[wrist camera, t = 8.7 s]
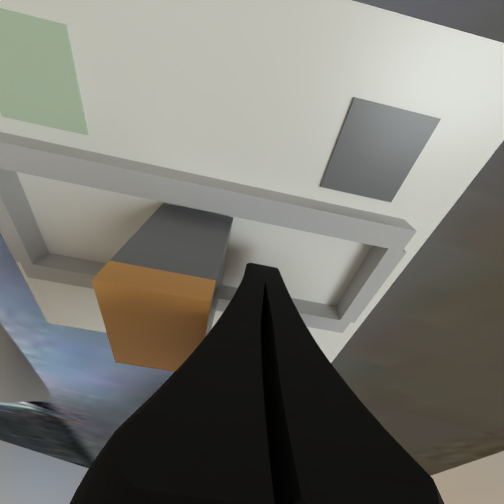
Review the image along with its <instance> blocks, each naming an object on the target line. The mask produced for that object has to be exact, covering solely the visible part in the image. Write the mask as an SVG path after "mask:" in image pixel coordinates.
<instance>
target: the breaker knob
mask: <svg viewBox="0 0 504 504" xmlns="http://www.w3.org/2000/svg"><path fill="white" fill-rule="evenodd" d="M232 223H233V217H229V216H225V215H220V214H215V213H210V212H205V211H200V210H195V209H191V208H186V207H181V206H176V205H171V204H166V203H163V204H162V205H161V206H160V207H159V208H158V209H157V210H156V211H155V212H154V213H153V215H152V216H151V217H150V218H149V219H148V220H147V221H146V222H145V223H144V224H143V225H142V226H141V227H140V228H139V230H138V231H137V232H136V233H135V234H134V235H133V236H132V237H131V238H130V239H129V240H128V241H127V242H126V243H125V244H124V246H123V247H122V248H121V249H120V250H119V251H118V252H117V253H116V254H115V255H114V256H113V257H112V258H111V259H110V261H109V262H108V263H107V264H106V265H105V266H104V267H103V268H102V269H101V270H100V271H99V272H98V273H97V274H96V276H95V277H94V278H93V279H92V280H91V281H92V284H93V288H94V291H95V294H96V298H97V301H98V305H99V308H100V311H101V315H102V318H103V322H104V325H105V328H106V332H107V335H108V339H109V342H110V345H111V349H112V352H113V356H114V359H115V362H117V363H124V364H130V365H136V366H143V367H149V368H155V369H162V370H168V371H176V370H177V369H178V368H179V367H180V366H181V365H182V364H183V363H184V362H185V361H186V359H187V358H188V357H189V356H190V355H191V354H192V353H193V351H194V350H195V349H196V348H197V347H198V345H199V344H200V343H201V342H202V340H203V339H204V338H205V337H206V336H207V334H208V333H209V332H210V330H211V329H212V324H213V320H214V316H215V312H216V308H217V303H218V299H219V295H220V291H221V287H222V282H223V276H224V270H225V264H226V258H227V252H228V246H229V240H230V234H231V228H232Z"/></svg>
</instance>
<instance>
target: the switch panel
mask: <svg viewBox="0 0 504 504" xmlns="http://www.w3.org/2000/svg"><path fill="white" fill-rule="evenodd" d="M503 140H504V43H501V42H498V41H494V40H491V39H487V38H484V37H480V36H477V35H473V34H470V33H466V32H462V31H459V30H455V29H452V28H448V27H445V26H441V25H438V24H434V23H430V22H427V21H423V20H420V19H416V18H413V17H409V16H406V15H402V14H399V13H395V12H391V11H388V10H384V9H381V8H377V7H374V6H370V5H367V4H363V3H359V2H356V1H352V0H0V233H1V235H2V237H3V239H4V240H5V242H6V244H7V246H8V248H9V250H10V252H11V254H12V256H13V258H14V259H15V261H16V263H17V265H18V267H19V269H20V271H21V273H22V275H23V277H24V278H25V280H26V282H27V284H28V286H29V288H30V290H31V292H32V294H33V296H34V298H35V299H36V301H37V303H38V305H39V307H40V309H41V311H42V313H43V315H44V317H45V318H46V320H47V322H48V323H51V324H57V325H63V326H69V327H75V328H81V329H87V330H94V331H100V332H106V328H105V325H104V322H103V318H102V315H101V311H100V308H99V305H98V301H97V298H96V294H95V291H94V288H93V284H92V281H91V280H92V279H93V278H94V277H95V276H96V274H97V273H98V272H99V271H100V270H101V269H102V268H103V267H104V266H105V265H106V264H107V263H108V262H109V261H110V259H111V258H112V257H113V256H114V255H115V254H116V253H117V252H118V251H119V250H120V249H121V248H122V247H123V246H124V244H125V243H126V242H127V241H128V240H129V239H130V238H131V237H132V236H133V235H134V234H135V233H136V232H137V231H138V230H139V228H140V227H141V226H142V225H143V224H144V223H145V222H146V221H147V220H148V219H149V218H150V217H151V216H152V215H153V213H154V212H155V211H156V210H157V209H158V208H159V207H160V206H161V205H162V204H163V203H166V204H171V205H176V206H181V207H186V208H191V209H195V210H200V211H205V212H210V213H215V214H220V215H225V216H229V217H233V223H232V228H231V234H230V240H229V246H228V252H227V258H226V264H225V270H224V276H223V282H222V287H221V291H220V295H219V299H218V303H217V308H216V312H215V316H214V320H213V324H212V328H213V326H214V325H215V324H216V322H217V321H218V319H219V318H220V317H221V315H222V314H223V312H224V311H225V309H226V307H227V306H228V304H229V303H230V301H231V300H232V298H233V296H234V294H235V292H236V291H237V289H238V287H239V285H240V283H241V281H242V278H243V276H244V273H245V268H246V264H248V263H255V264H260V265H265V266H270V267H275V268H278V269H279V271H280V274H281V276H282V279H283V281H284V283H285V285H286V288H287V290H288V292H289V294H290V296H291V298H292V300H293V302H294V304H295V306H296V308H297V310H298V312H299V314H300V316H301V317H302V319H303V321H304V323H305V325H306V326H307V328H308V330H309V331H310V333H311V335H312V336H313V338H314V339H315V341H316V343H317V344H318V346H319V347H320V349H321V350H322V351H323V353H324V354H325V356H326V357H327V359H328V360H329V362H330V363H331V362H332V361H333V360H334V358H335V357H336V356H337V355H338V353H339V352H340V351H341V349H342V348H343V347H344V346H345V344H346V343H347V342H348V340H349V339H350V338H351V337H352V335H353V334H354V333H355V331H356V330H357V329H358V327H359V326H360V325H361V324H362V322H363V321H364V320H365V318H366V317H367V316H368V315H369V313H370V312H371V311H372V309H373V308H374V307H375V306H376V304H377V303H378V302H379V300H380V299H381V298H382V296H383V295H384V294H385V293H386V291H387V290H388V289H389V287H390V286H391V285H392V284H393V282H394V281H395V280H396V278H397V277H398V276H399V275H400V273H401V272H402V271H403V269H404V268H405V267H406V266H407V264H408V263H409V262H410V260H411V259H412V258H413V256H414V255H415V254H416V253H417V251H418V250H419V249H420V247H421V246H422V245H423V244H424V242H425V241H426V240H427V238H428V237H429V236H430V235H431V233H432V232H433V231H434V229H435V228H436V227H437V225H438V224H439V223H440V222H441V220H442V219H443V218H444V216H445V215H446V214H447V213H448V211H449V210H450V209H451V207H452V206H453V205H454V204H455V202H456V201H457V200H458V198H459V197H460V196H461V195H462V193H463V192H464V191H465V189H466V188H467V187H468V185H469V184H470V183H471V182H472V180H473V179H474V178H475V176H476V175H477V174H478V173H479V171H480V170H481V169H482V167H483V166H484V165H485V164H486V162H487V161H488V160H489V158H490V157H491V156H492V154H493V153H494V152H495V151H496V149H497V148H498V147H499V145H500V144H501V143H502V142H503ZM106 333H107V332H106Z"/></svg>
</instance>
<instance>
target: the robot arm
mask: <svg viewBox="0 0 504 504" xmlns="http://www.w3.org/2000/svg"><path fill="white" fill-rule="evenodd" d="M70 504H444V502H443V500H442V498H441V495H440V493H439V491H438V489H437V487H436V485H435V483H434V480H433V479H432V478H431V477H430V475H429V474H428V473H427V472H426V471H425V470H424V469H423V468H422V467H421V466H420V465H419V464H418V463H417V462H416V461H415V460H414V459H413V458H412V457H411V456H410V455H409V454H408V453H407V452H406V451H405V450H404V449H403V447H402V446H401V445H400V444H399V443H398V442H397V441H396V440H395V439H394V438H393V437H392V436H391V435H390V434H389V433H388V432H387V431H386V430H385V429H384V427H383V426H382V425H381V424H380V423H379V422H378V421H377V419H376V418H375V417H374V416H373V415H372V414H371V413H370V412H369V410H368V409H367V408H366V407H365V406H364V405H363V404H362V402H361V401H360V400H359V399H358V397H357V396H356V395H355V394H354V392H353V391H352V390H351V389H350V387H349V386H348V385H347V384H346V382H345V381H344V380H343V379H342V377H341V376H340V375H339V374H338V372H337V371H336V370H335V368H334V367H333V366H332V364H331V363H330V362H329V360H328V359H327V357H326V356H325V354H324V353H323V351H322V350H321V349H320V347H319V346H318V344H317V343H316V341H315V339H314V338H313V336H312V335H311V333H310V331H309V330H308V328H307V326H306V325H305V323H304V321H303V319H302V317H301V316H300V314H299V312H298V310H297V308H296V306H295V304H294V302H293V300H292V298H291V296H290V294H289V292H288V290H287V288H286V285H285V283H284V281H283V279H282V276H281V274H280V271H279V269H278V268H275V267H270V266H265V265H260V264H255V263H248V264H246V268H245V273H244V276H243V278H242V281H241V283H240V285H239V287H238V289H237V291H236V292H235V294H234V296H233V298H232V300H231V301H230V303H229V304H228V306H227V307H226V309H225V311H224V312H223V314H222V315H221V317H220V318H219V319H218V321H217V322H216V324H215V325H214V326H213V328H212V329H211V330H210V332H209V333H208V334H207V336H206V337H205V338H204V339H203V340H202V342H201V343H200V344H199V345H198V347H197V348H196V349H195V350H194V351H193V353H192V354H191V355H190V356H189V357H188V358H187V359H186V361H185V362H184V363H183V364H182V365H181V366H180V367H179V368H178V369H177V370H176V371H175V372H174V373H173V374H172V376H171V377H170V378H169V379H168V380H167V381H166V382H165V383H164V384H163V385H162V386H161V387H160V388H159V389H158V390H157V391H156V392H155V393H154V394H153V395H152V396H151V397H150V398H149V399H148V400H147V401H146V402H145V403H144V404H143V405H142V406H141V407H140V408H139V409H138V410H137V411H136V412H135V413H134V414H132V415H131V416H130V417H129V418H128V419H127V420H126V421H125V422H124V423H123V424H122V425H121V426H120V427H119V428H118V429H117V430H116V431H115V432H114V434H113V435H112V436H111V438H110V439H109V441H108V442H107V443H106V445H105V446H104V448H103V449H102V450H101V452H100V453H99V455H98V456H97V457H96V459H95V460H94V462H93V463H92V465H91V466H90V468H89V470H88V471H87V473H86V475H85V476H84V478H83V480H82V482H81V483H80V485H79V487H78V488H77V490H76V492H75V494H74V496H73V498H72V500H71V502H70Z"/></svg>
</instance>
